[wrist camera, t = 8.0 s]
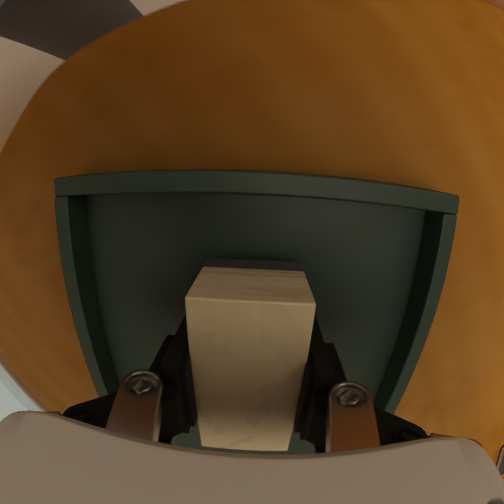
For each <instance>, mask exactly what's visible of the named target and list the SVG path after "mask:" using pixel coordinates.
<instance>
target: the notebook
mask: <svg viewBox="0 0 504 504" xmlns="http://www.w3.org/2000/svg"><path fill="white" fill-rule="evenodd" d="M496 467H497V469H498V470H499V472H500V474H501V475H502V474H504V446H503V447H502V448H501V450H500V453H499V457H498V461H497V464H496Z"/></svg>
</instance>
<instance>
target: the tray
mask: <svg viewBox="0 0 504 504" xmlns="http://www.w3.org/2000/svg"><path fill="white" fill-rule="evenodd" d="M54 182H55V196H56V197H55V210H56V222H57V232H58V241H59V249H60V256H61V262H62V268H63V274H64V279H65V285H66V290H67V294H68V299H69V303H70V308H71V312H72V316H73V320H74V324H75V327H76V331H77V335H78V338H79V342H80V345H81V348H82V351H83V354H84V358H85V361H86V364H87V367H88V369H89V372H90V375H91V378H92V380H93V383H94V386H95V388H96V391H97V393H98V396H99V397H102V396H105V395H108V394H111V393H114V392H117V391H118V389H119V386H120V384H121V381H122V379H123V378H124V377H125V376H126V375H127V374H128V373H130V372H132V371H136V370H149V368H150V366H151V364H152V362H153V360H154V358H155V356H156V355H157V353H158V351H159V349H160V347H161V345H162V343H163V341H164V340H165V338H166V336H167V335H175V334H176V332H177V330H178V328H179V326H180V324H181V322H182V320H183V318H184V316H185V314H186V308H185V297H186V295H187V293H188V291H189V290H190V288H191V286H192V285H193V283H194V281H195V279H196V278H197V276H198V274H199V273H200V271H201V269H202V268H203V266H204V264H205V262H206V261H207V259H208V258H224V259H245V260H267V261H290V262H300V263H301V265H302V268H303V270H304V273H305V276H306V279H307V281H308V284H309V287H310V289H311V292H312V295H313V297H314V300H315V303H316V309H315V315H316V318H317V321H318V324H319V327H320V330H321V333H322V336H323V339H324V342H325V343H334V345H335V348H336V351H337V353H338V356H339V359H340V362H341V365H342V367H343V370H344V373H345V376H346V379H347V381H354V382H358V383H360V384H362V385H364V386H365V387H367V388H368V390H369V391H370V393H371V395H372V400H373V405H374V406H376V407H378V408H380V409H382V410H384V411H387V412H389V413H391V414H394V412H395V410H396V408H397V406H398V404H399V402H400V400H401V398H402V396H403V394H404V392H405V390H406V387H407V385H408V383H409V381H410V379H411V376H412V374H413V372H414V369H415V367H416V365H417V362H418V360H419V357H420V355H421V352H422V350H423V347H424V344H425V342H426V339H427V336H428V333H429V330H430V328H431V325H432V322H433V318H434V315H435V312H436V309H437V306H438V302H439V299H440V295H441V292H442V288H443V284H444V280H445V276H446V272H447V268H448V263H449V259H450V254H451V249H452V244H453V238H454V232H455V226H456V219H457V216H456V214H457V212H458V203H459V197H458V196H457V195H453V194H448V193H444V192H439V191H434V190H429V189H423V188H418V187H412V186H406V185H399V184H393V183H386V182H379V181H371V180H363V179H355V178H347V177H337V176H327V175H316V174H304V173H291V172H274V171H254V170H217V169H182V170H145V171H125V172H110V173H97V174H86V175H76V176H68V177H60V178H56V179H55V180H54ZM175 437H176V442H175V446H181V447H188V448H195V449H202V450H210V451H219V452H230V453H245V454H312V445H313V444H311V443H310V442H308V441H307V440H300V433H295V430H294V426H293V430H292V435H291V439H290V443H289V447H288V450H287V451H257V450H238V449H225V448H215V447H206V446H202V444H201V438H200V432H199V425H198V419H197V422H196V425H195V427H191V426H190V430H189V434H186V433H181V434H179V435H176V436H175Z"/></svg>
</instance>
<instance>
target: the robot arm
mask: <svg viewBox="0 0 504 504" xmlns="http://www.w3.org/2000/svg"><path fill="white" fill-rule="evenodd" d="M197 418H198V417H197V410H196V402H195V395H194V387H193V378H192V370H191V360H190V354H189V344H188V333H187V321H186V314H185V316H184V318H183V320H182V322H181V324H180V326H179V328H178V330H177V332H176V334H175V335H167V336H166V338H165V340H164V341H163V343H162V345H161V347H160V349H159V351H158V353H157V355H156V356H155V358H154V360H153V362H152V364H151V366H150V368H149V370H136V371H132V372H130V373H128V374H127V375H126V376H125V377H124V378H123V379H122V381H121V384H120V386H119V389H118V391H117V392H114V393H111V394H108V395H105V396H102V397H99V398H96V399H93V400H90V401H87V402H83V403H80V404H77V405H74V406H71V407H69V408H68V409H67V410H65V412H64V413H63V414H61V413H60V412H59V411H53V412H40V411H18V412H15V413H12V414H10V415H8V416H7V417H6V418H4V419H3V420H2V421H1V422H0V504H504V480H503V478H502V476H501V474H500V472H499V470H498V469H497V467H496V465H495V464H494V462H493V461H492V459H491V458H490V456H489V455H488V454H487V452H486V451H485V450H484V449H483V447H482V446H481V444H480V443H479V442H477V441H476V440H472V439H466V438H459V437H452V436H446V435H441V434H435V433H431V435H430V436H428V435H427V434H426V432H425V431H424V430H423V429H422V428H421V427H419V426H417V425H415V424H413V423H411V422H408V421H406V420H404V419H402V418H400V417H397V416H395V415H393V414H391V413H389V412H387V411H384V410H382V409H380V408H378V407H376V406H374V405H373V400H372V395H371V393H370V391H369V390H368V388H367V387H365V386H364V385H362V384H360V383H358V382H354V381H347V379H346V376H345V373H344V370H343V367H342V365H341V362H340V359H339V356H338V353H337V351H336V348H335V345H334V343H325V342H324V339H323V336H322V333H321V330H320V327H319V324H318V321H317V318H316V315H315V316H314V322H313V329H312V335H311V341H310V347H309V352H308V358H307V362H306V366H305V371H304V377H303V382H302V387H301V392H300V397H299V401H298V406H297V411H296V415H295V420H294V430H295V433H300V440H307V441H308V442H310V443H311V444H313V445H312V454H245V453H230V452H219V451H210V450H202V449H195V448H188V447H181V446H175V442H176V437H175V436H176V435H179V434H181V433H186V434H189V430H190V426H191V427H195V425H196V422H197Z"/></svg>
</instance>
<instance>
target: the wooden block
mask: <svg viewBox="0 0 504 504" xmlns="http://www.w3.org/2000/svg"><path fill="white" fill-rule="evenodd" d="M185 308H186V321H187V333H188V344H189V354H190V360H191V370H192V378H193V387H194V395H195V402H196V410H197V417H198V418H197V419H198V425H199V432H200V438H201V444H202V446H206V447H215V448H225V449H238V450H257V451H287V450H288V447H289V443H290V439H291V435H292V430H293V426H294V420H295V415H296V411H297V406H298V401H299V397H300V392H301V387H302V382H303V377H304V371H305V366H306V362H307V358H308V352H309V347H310V341H311V335H312V329H313V322H314V316H315V309H316V303H315V300H314V297H313V295H312V292H311V289H310V287H309V284H308V281H307V279H306V276H305V273H304V270H303V268H302V265H301V263H300V262H290V261H267V260H245V259H224V258H208V259H207V261H206V262H205V264H204V266H203V268H202V269H201V271H200V273H199V274H198V276H197V278H196V279H195V281H194V283H193V285H192V286H191V288H190V290H189V291H188V293H187V295H186V297H185Z"/></svg>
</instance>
